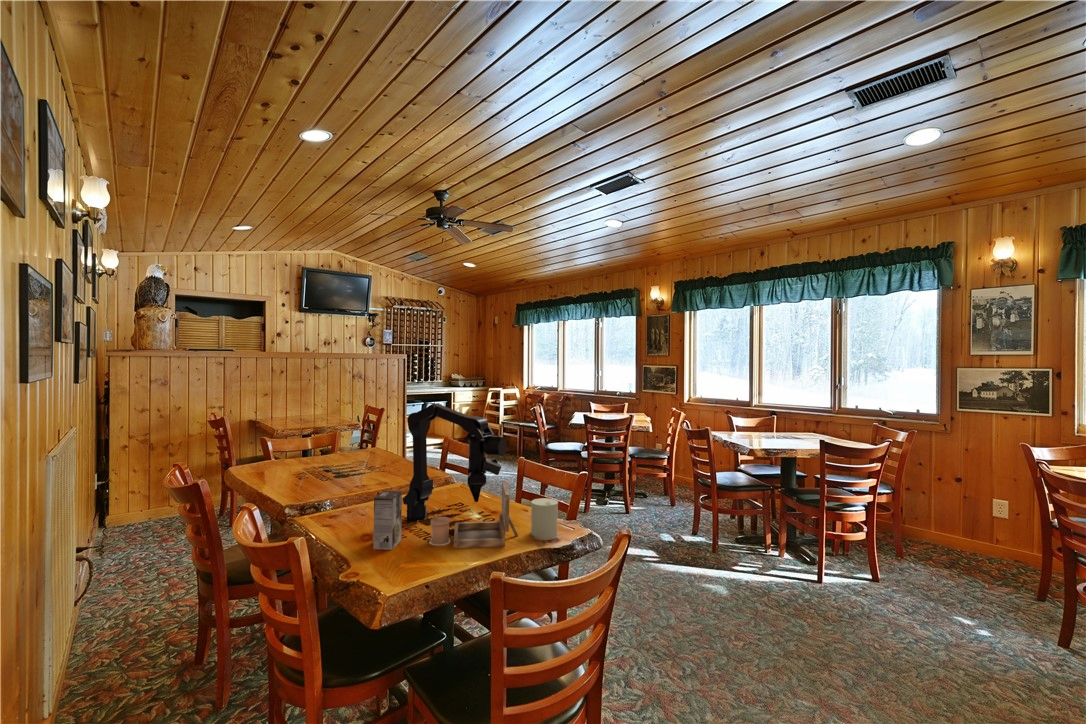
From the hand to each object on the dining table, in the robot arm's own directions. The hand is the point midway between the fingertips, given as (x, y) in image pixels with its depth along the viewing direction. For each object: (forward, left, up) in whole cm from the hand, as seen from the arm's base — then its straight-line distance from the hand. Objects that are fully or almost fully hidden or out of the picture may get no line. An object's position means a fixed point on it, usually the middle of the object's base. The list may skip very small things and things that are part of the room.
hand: (476, 498), depth 179 cm
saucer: (-12, -13, -11) cm, 21 cm away
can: (+23, -8, -11) cm, 27 cm away
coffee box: (-28, -12, -11) cm, 32 cm away
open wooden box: (+4, -10, -11) cm, 16 cm away
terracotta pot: (-12, -13, -10) cm, 20 cm away
